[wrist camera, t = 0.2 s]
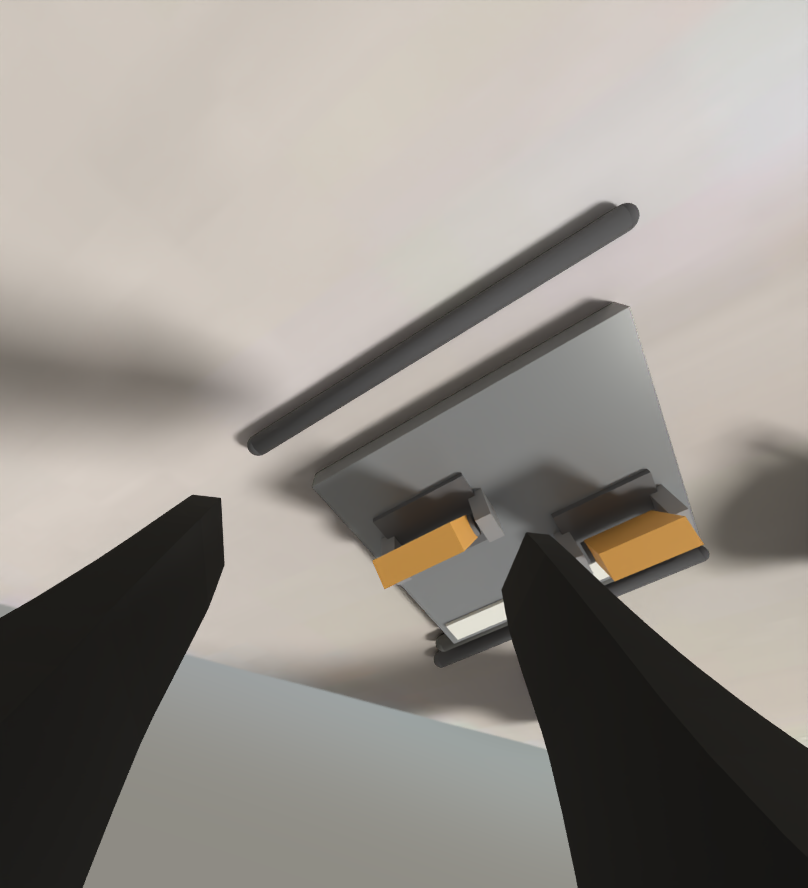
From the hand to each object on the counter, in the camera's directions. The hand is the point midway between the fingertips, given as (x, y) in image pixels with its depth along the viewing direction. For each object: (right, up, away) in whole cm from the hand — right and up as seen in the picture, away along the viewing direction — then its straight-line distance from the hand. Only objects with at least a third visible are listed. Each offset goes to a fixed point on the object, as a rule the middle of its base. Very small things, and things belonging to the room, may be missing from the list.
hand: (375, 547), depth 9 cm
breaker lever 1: (+2, -2, +10) cm, 11 cm away
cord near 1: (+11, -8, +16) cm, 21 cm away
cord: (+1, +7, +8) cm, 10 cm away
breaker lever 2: (+12, -2, +10) cm, 16 cm away
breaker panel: (+7, -1, +12) cm, 14 cm away
